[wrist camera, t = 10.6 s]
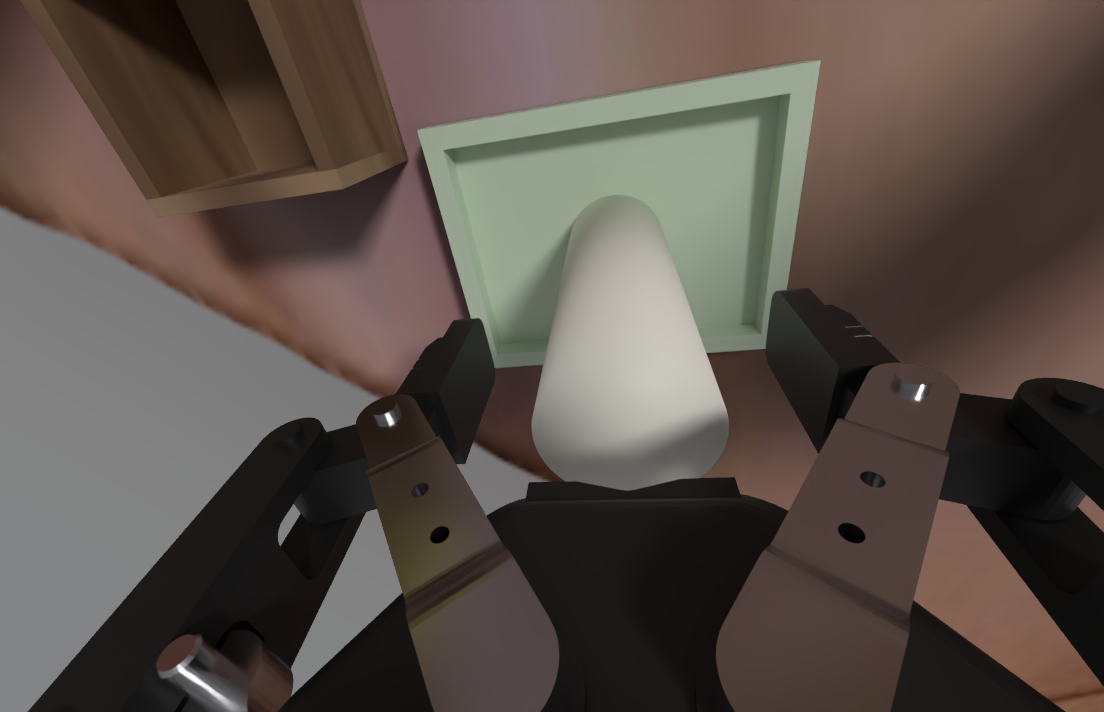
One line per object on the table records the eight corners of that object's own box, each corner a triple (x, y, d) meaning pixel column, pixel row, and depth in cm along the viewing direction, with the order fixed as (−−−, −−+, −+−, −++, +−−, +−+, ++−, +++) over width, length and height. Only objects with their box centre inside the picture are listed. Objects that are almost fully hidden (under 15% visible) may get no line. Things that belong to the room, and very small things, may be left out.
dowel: (661, 188, 17) (736, 346, 8) (663, 279, 20) (723, 497, 10) (564, 201, 18) (514, 362, 8) (575, 288, 20) (547, 500, 10)
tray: (801, 61, 15) (820, 60, 14) (767, 330, 21) (778, 347, 20) (431, 125, 18) (417, 130, 16) (492, 352, 23) (485, 368, 22)
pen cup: (338, -69, 15) (217, -133, 10) (408, 160, 18) (343, 189, 14) (161, -22, 16) (-19, -60, 11) (261, 183, 20) (157, 217, 15)
